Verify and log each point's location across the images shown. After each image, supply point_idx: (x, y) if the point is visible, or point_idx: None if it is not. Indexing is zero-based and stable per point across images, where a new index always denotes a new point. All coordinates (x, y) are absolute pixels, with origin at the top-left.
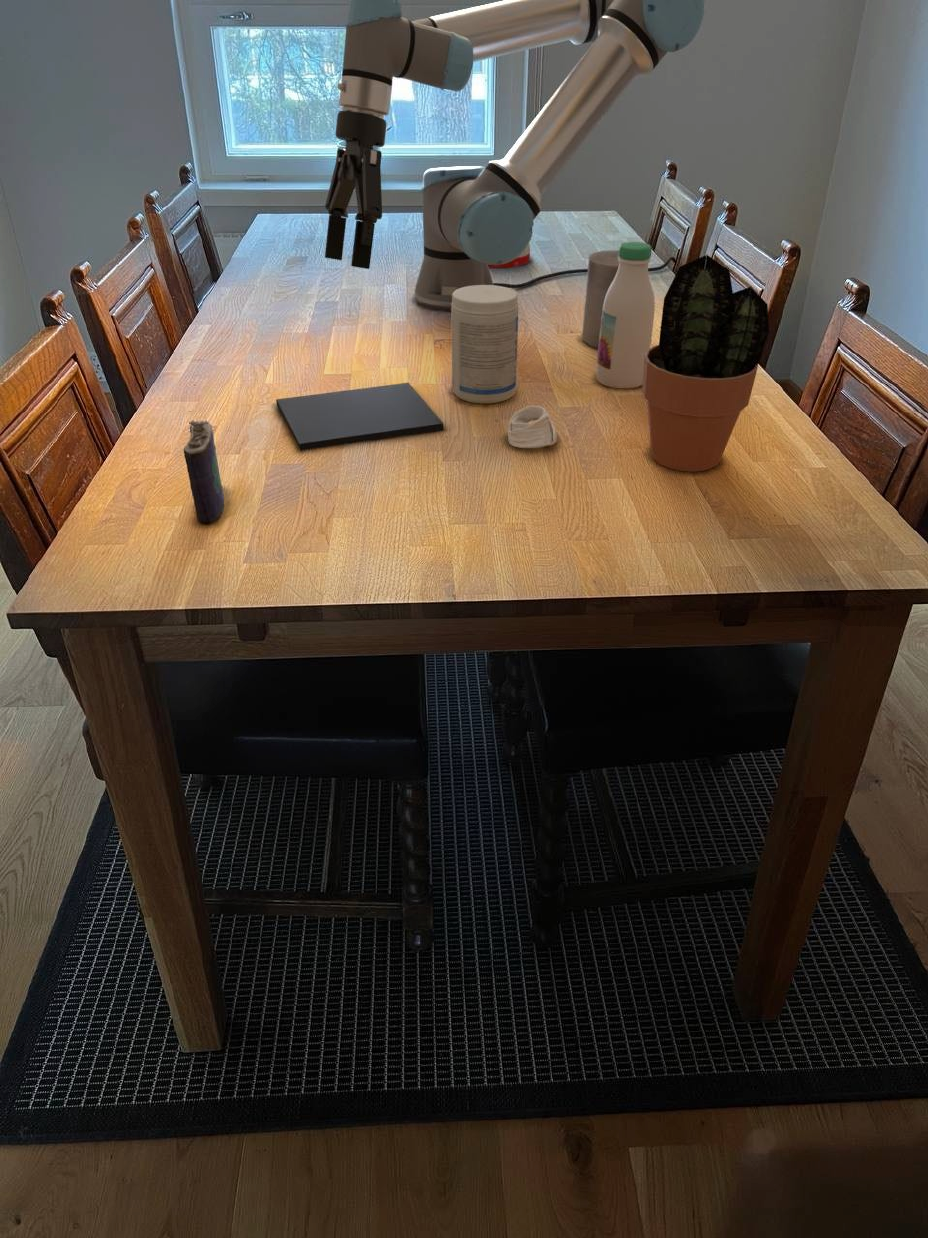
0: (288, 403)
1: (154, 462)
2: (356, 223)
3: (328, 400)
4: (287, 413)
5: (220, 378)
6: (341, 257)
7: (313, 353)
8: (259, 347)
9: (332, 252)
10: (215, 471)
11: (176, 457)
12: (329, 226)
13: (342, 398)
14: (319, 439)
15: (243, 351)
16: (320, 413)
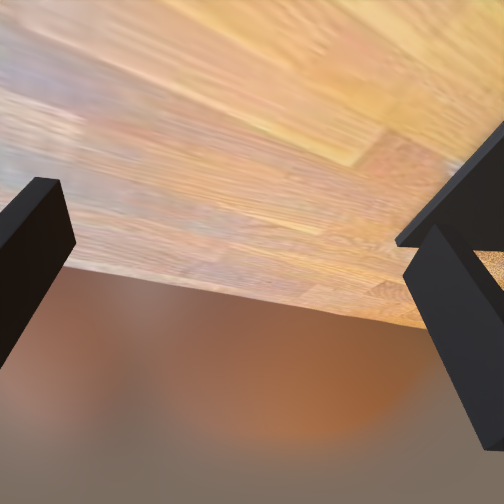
0: (421, 240)
1: (403, 309)
2: (484, 432)
3: (464, 206)
4: None
5: (264, 265)
6: (55, 188)
7: (236, 150)
8: (158, 213)
9: (58, 238)
10: None
11: (410, 301)
12: (6, 356)
13: (479, 190)
14: None
15: (169, 232)
16: (482, 222)
